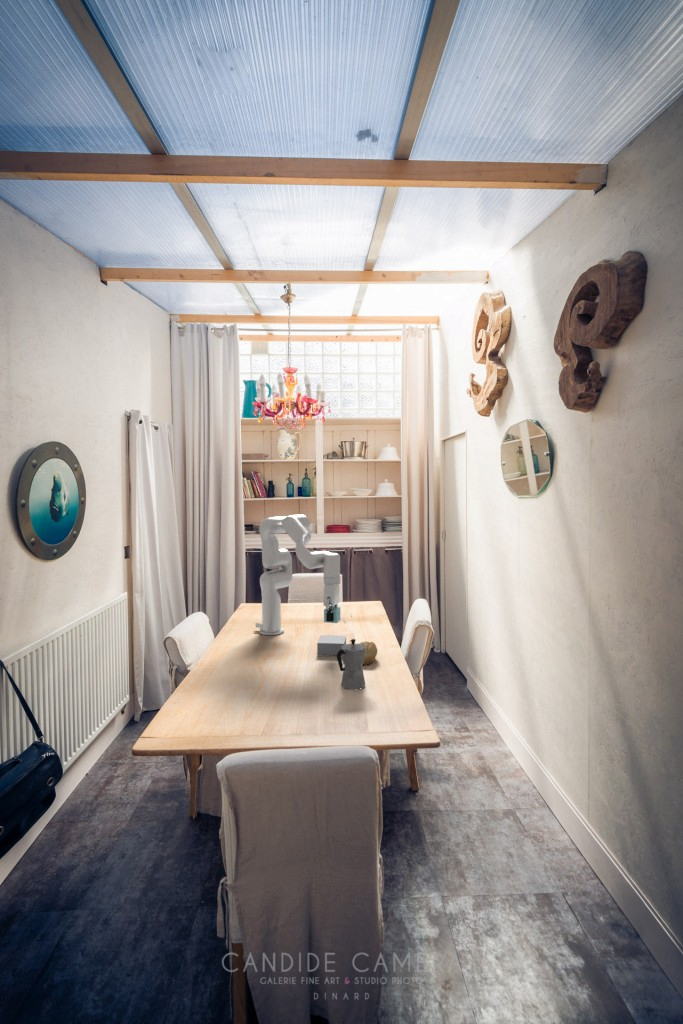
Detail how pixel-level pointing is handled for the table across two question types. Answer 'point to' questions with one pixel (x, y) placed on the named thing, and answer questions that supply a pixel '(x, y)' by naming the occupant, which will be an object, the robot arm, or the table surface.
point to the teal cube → (336, 615)
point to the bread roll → (369, 652)
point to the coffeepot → (352, 665)
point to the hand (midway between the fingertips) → (332, 619)
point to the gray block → (330, 644)
